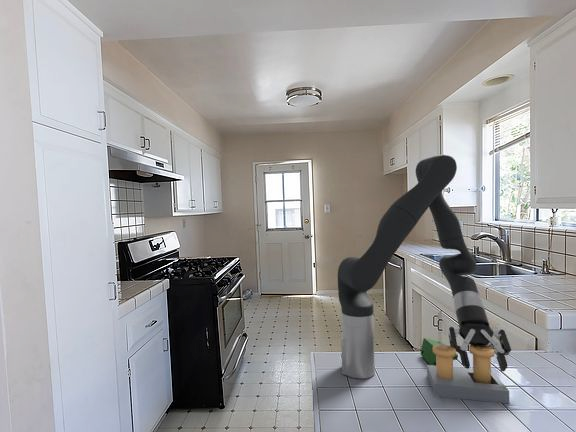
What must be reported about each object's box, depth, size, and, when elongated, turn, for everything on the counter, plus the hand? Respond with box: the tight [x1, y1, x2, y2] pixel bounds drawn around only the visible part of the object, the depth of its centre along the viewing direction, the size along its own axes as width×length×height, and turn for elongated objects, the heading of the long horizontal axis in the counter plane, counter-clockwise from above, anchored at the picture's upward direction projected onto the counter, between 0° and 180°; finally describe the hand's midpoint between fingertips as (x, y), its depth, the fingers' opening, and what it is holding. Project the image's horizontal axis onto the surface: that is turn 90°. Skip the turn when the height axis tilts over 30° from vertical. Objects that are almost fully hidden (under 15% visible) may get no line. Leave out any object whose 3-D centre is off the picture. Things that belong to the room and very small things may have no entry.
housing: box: [426, 344, 510, 404], centre depth 85 cm, size 16×11×10 cm, turn 77°
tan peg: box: [468, 344, 495, 384], centre depth 85 cm, size 6×6×10 cm
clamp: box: [420, 337, 459, 366], centre depth 100 cm, size 12×6×9 cm, turn 175°
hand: (485, 368), depth 83 cm, fingers open, 7 cm apart
